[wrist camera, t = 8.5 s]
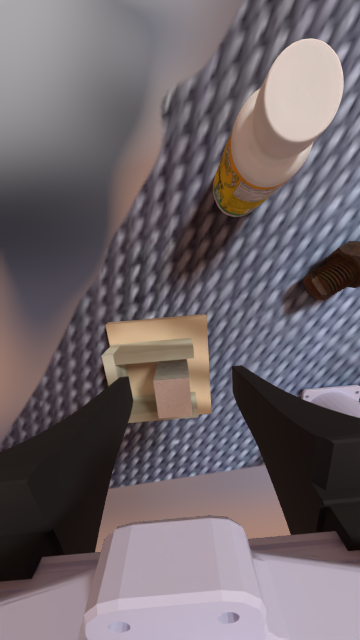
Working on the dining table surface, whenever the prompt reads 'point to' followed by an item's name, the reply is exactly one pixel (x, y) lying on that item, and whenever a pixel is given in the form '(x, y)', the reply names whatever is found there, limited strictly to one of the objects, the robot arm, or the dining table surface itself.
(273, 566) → the robot arm
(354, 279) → the bolt
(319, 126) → the supplement bottle
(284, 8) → the dining table surface
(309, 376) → the dining table surface
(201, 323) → the keeper cradle
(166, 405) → the link block
